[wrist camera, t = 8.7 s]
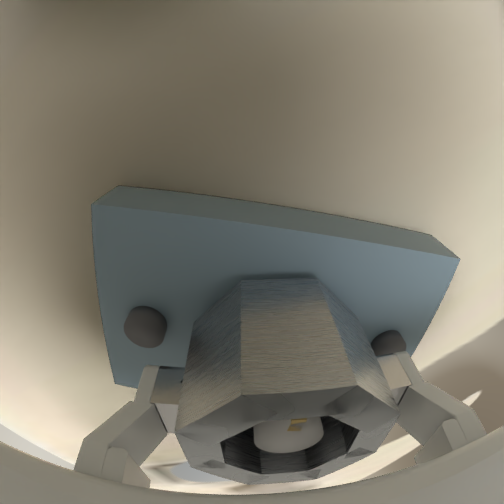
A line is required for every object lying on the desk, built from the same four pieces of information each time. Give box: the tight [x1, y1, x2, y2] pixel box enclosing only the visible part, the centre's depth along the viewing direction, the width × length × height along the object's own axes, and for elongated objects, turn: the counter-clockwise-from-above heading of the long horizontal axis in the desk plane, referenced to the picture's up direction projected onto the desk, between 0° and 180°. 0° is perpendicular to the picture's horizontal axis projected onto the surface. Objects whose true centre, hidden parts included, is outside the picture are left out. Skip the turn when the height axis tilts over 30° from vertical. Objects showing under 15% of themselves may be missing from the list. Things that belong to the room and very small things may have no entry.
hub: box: [174, 278, 401, 484], centre depth 9 cm, size 6×6×4 cm
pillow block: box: [91, 186, 460, 453], centre depth 10 cm, size 14×9×7 cm, turn 81°
